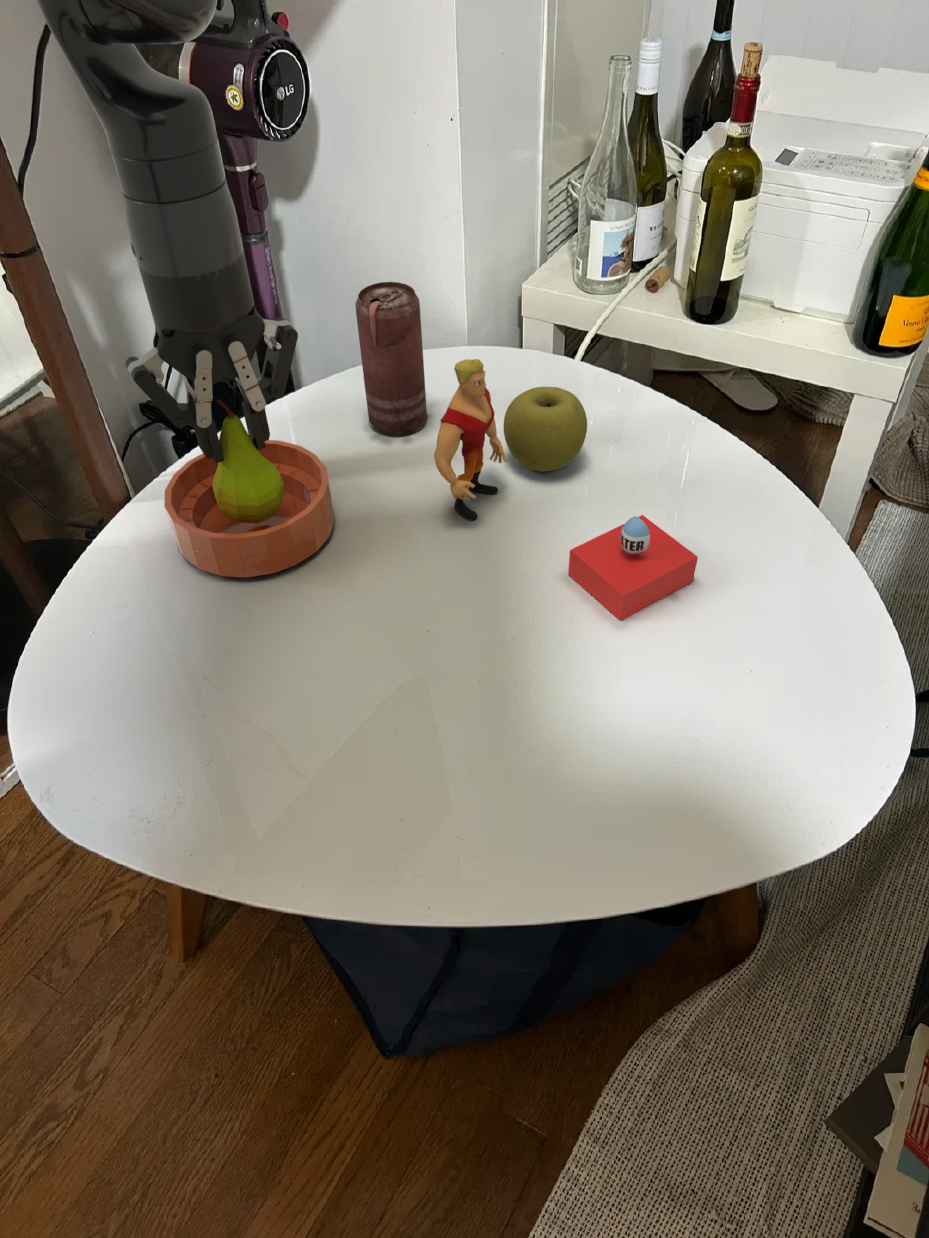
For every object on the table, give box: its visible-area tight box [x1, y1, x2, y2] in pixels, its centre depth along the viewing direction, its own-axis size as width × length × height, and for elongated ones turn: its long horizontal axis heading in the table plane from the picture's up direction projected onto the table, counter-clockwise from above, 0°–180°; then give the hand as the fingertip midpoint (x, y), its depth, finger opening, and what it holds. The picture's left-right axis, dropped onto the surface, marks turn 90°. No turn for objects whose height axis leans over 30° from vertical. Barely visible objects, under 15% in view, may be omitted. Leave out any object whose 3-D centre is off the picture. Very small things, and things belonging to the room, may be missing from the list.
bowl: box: [163, 439, 336, 578], centre depth 83 cm, size 14×14×5 cm
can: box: [354, 281, 428, 437], centre depth 91 cm, size 6×6×14 cm
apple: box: [503, 386, 588, 473], centre depth 88 cm, size 8×8×7 cm
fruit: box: [213, 399, 284, 524], centre depth 79 cm, size 6×6×12 cm
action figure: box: [433, 358, 508, 521], centre depth 81 cm, size 10×4×15 cm, turn 152°
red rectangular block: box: [567, 514, 699, 621], centre depth 76 cm, size 8×7×6 cm
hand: (237, 450), depth 78 cm, fingers closed on fruit, 3 cm apart
